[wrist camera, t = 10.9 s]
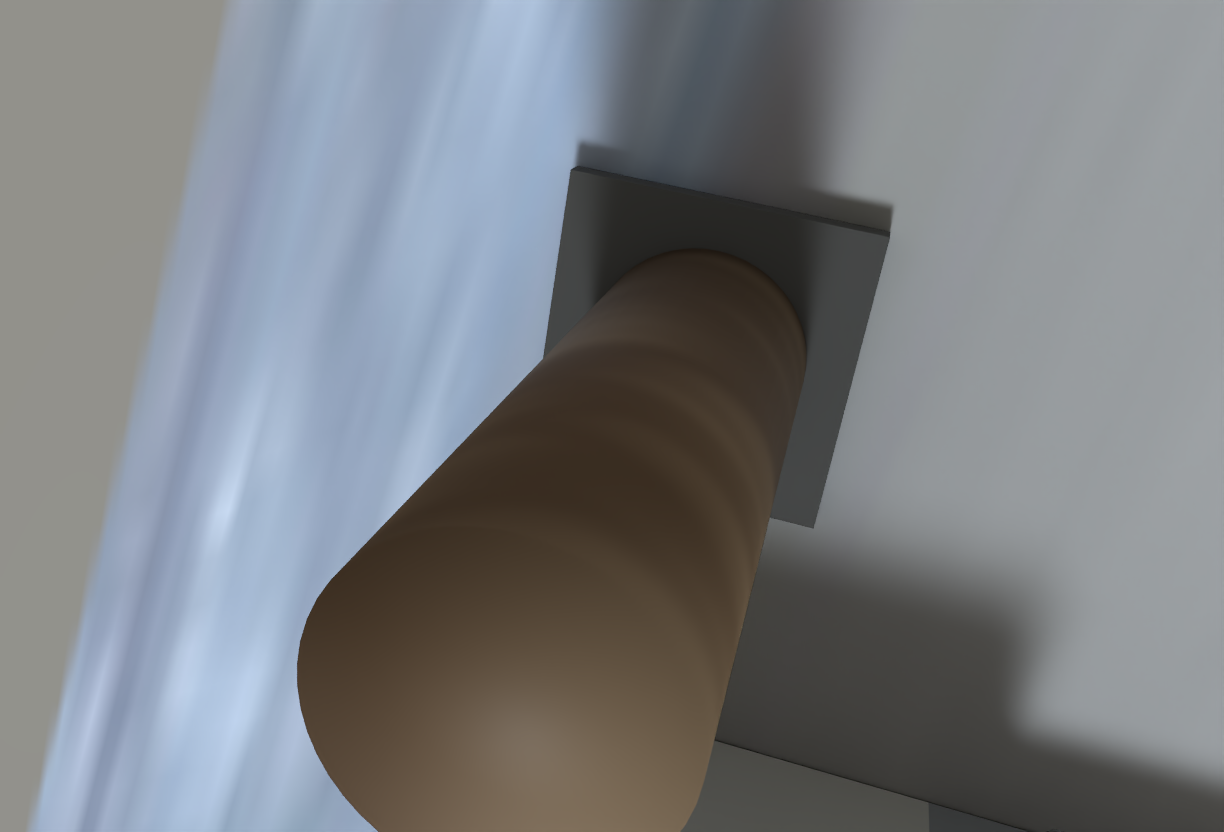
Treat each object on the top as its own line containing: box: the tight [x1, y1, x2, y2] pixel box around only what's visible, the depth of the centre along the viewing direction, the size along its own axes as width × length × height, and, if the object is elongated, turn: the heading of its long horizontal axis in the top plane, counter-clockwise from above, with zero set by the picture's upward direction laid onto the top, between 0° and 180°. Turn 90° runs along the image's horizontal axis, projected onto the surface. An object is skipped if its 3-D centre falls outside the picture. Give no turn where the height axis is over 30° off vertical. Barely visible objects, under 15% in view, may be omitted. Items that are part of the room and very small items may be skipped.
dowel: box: [297, 248, 807, 832], centre depth 14 cm, size 4×4×10 cm
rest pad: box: [543, 166, 890, 528], centre depth 19 cm, size 5×5×1 cm
